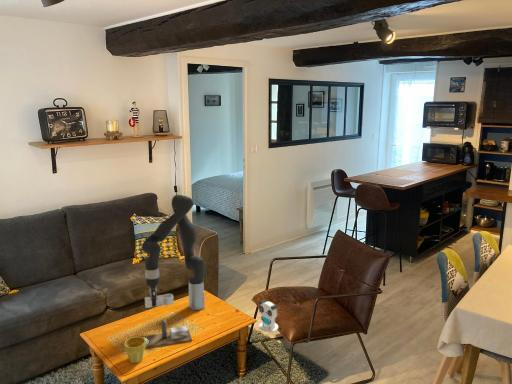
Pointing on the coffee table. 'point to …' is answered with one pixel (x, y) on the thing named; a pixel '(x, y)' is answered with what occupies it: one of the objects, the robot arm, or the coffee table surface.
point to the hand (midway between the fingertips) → (153, 303)
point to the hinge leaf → (160, 300)
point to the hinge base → (169, 336)
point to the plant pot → (135, 349)
